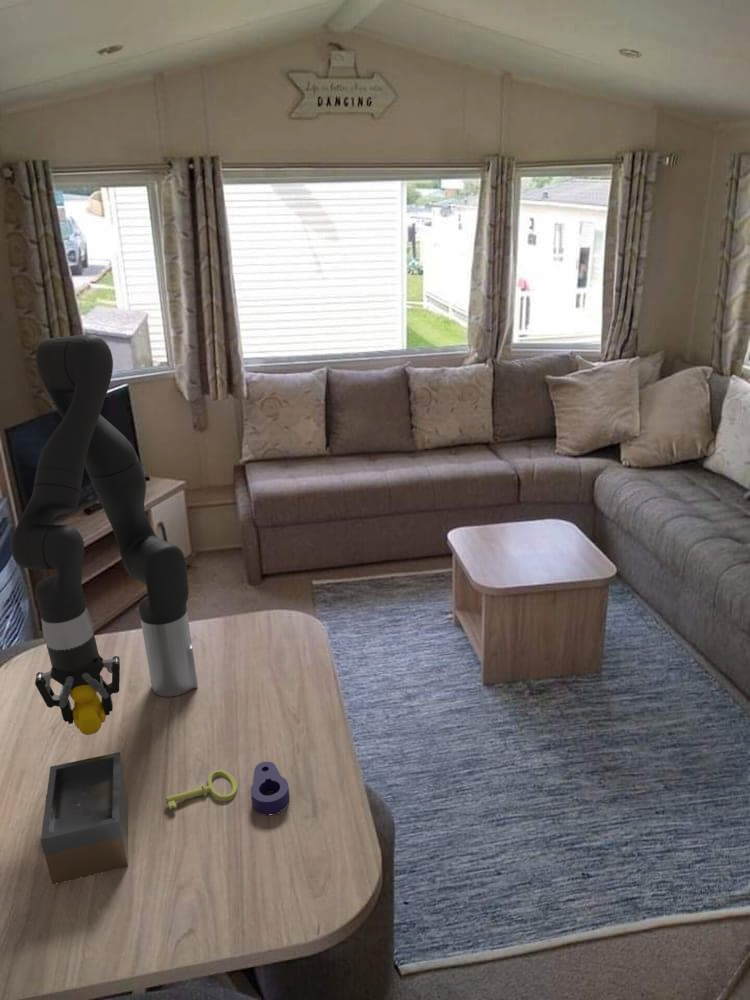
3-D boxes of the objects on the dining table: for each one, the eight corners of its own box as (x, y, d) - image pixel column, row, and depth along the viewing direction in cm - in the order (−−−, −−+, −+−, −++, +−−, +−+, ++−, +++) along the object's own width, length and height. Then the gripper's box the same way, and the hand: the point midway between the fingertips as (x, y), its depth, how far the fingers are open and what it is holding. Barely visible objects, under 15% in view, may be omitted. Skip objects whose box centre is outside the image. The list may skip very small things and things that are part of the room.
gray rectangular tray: (128, 793, 133) (119, 751, 129) (128, 866, 118) (119, 821, 115) (60, 809, 130) (50, 766, 126) (52, 885, 116) (40, 839, 112)
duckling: (73, 709, 139) (62, 663, 135) (104, 700, 141) (94, 655, 137) (76, 748, 129) (64, 700, 125) (110, 739, 131) (98, 691, 127)
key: (163, 807, 130) (161, 798, 129) (223, 770, 138) (222, 761, 137) (185, 830, 125) (184, 820, 124) (247, 791, 133) (246, 781, 132)
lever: (292, 811, 128) (291, 797, 127) (254, 820, 127) (253, 805, 126) (281, 763, 139) (280, 749, 138) (247, 770, 138) (245, 756, 136)
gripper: (114, 615, 132) (131, 694, 139) (25, 632, 129) (47, 713, 135) (114, 637, 126) (132, 720, 133) (20, 656, 122) (44, 740, 129)
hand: (89, 716), depth 134 cm, fingers closed on duckling, 5 cm apart
